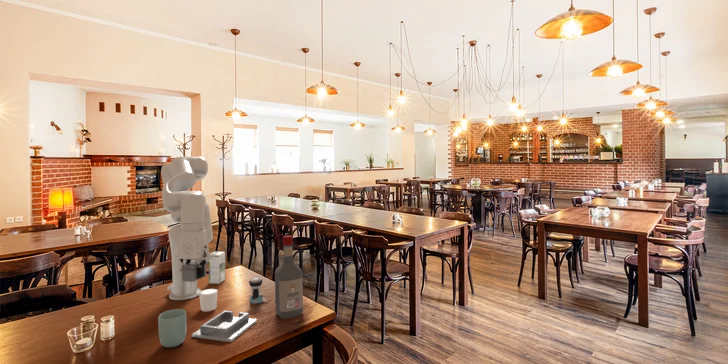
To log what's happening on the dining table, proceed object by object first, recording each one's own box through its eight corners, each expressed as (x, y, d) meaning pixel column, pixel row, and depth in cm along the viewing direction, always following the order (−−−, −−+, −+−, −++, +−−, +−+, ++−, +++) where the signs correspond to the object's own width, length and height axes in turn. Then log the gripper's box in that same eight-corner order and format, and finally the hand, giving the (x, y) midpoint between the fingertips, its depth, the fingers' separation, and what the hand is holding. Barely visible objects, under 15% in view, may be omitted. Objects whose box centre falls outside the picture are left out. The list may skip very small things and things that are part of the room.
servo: (180, 281, 122) (179, 263, 122) (198, 274, 131) (197, 257, 131) (190, 282, 121) (190, 264, 121) (208, 274, 130) (207, 257, 130)
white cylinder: (221, 306, 142) (221, 289, 141) (209, 313, 135) (208, 295, 135) (208, 304, 144) (207, 287, 144) (195, 310, 138) (194, 293, 137)
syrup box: (214, 279, 175) (213, 251, 175) (226, 280, 175) (225, 251, 174) (208, 283, 170) (207, 254, 169) (220, 283, 169) (219, 254, 168)
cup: (166, 339, 115) (165, 309, 115) (191, 337, 116) (190, 308, 115) (154, 351, 107) (153, 319, 107) (180, 350, 108) (179, 318, 108)
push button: (267, 299, 148) (266, 276, 148) (264, 304, 143) (263, 280, 142) (251, 300, 148) (250, 277, 147) (248, 305, 143) (247, 281, 142)
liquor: (305, 315, 132) (303, 236, 131) (281, 320, 128) (279, 239, 126) (296, 306, 140) (295, 233, 139) (274, 312, 135) (272, 235, 134)
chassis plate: (192, 337, 116) (191, 326, 116) (221, 317, 131) (220, 308, 131) (231, 342, 113) (230, 331, 112) (256, 321, 127) (256, 312, 127)
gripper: (165, 228, 124) (167, 278, 125) (205, 229, 120) (207, 282, 121) (181, 224, 131) (183, 272, 132) (219, 226, 127) (221, 275, 128)
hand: (194, 276), depth 126 cm, fingers closed on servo, 4 cm apart
